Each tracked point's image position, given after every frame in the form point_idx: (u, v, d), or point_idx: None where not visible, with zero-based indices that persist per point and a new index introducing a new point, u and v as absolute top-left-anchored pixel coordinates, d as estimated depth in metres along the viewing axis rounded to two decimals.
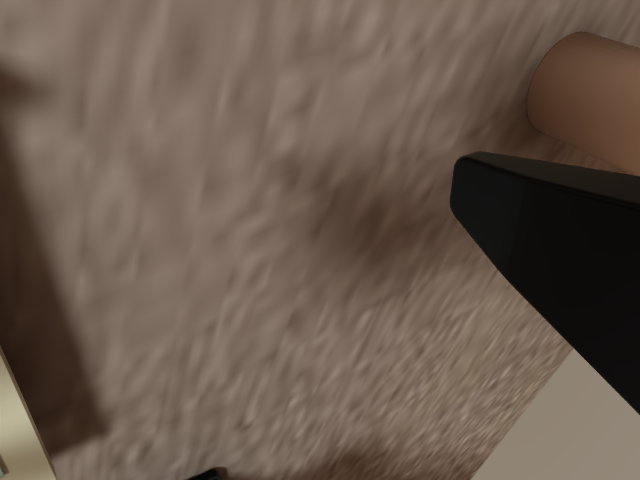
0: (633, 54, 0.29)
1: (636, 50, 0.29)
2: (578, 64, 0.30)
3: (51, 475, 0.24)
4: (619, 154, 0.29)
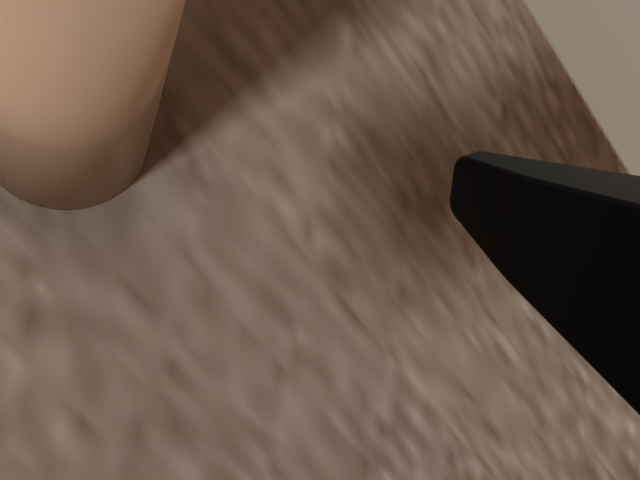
0: None
1: None
2: None
3: None
4: (60, 148, 0.15)
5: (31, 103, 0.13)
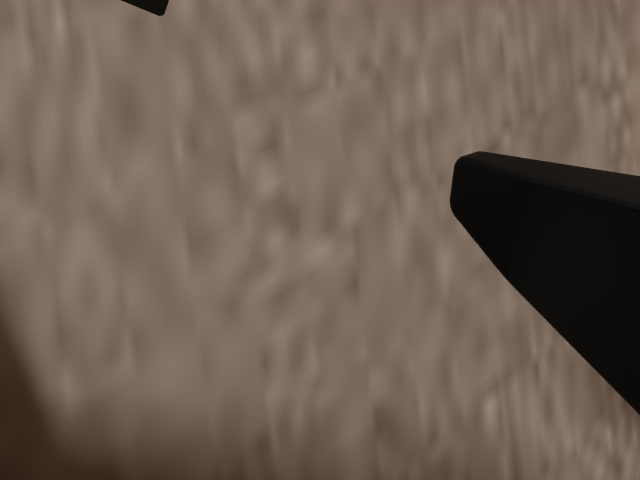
0: None
1: None
2: None
3: None
4: None
5: None
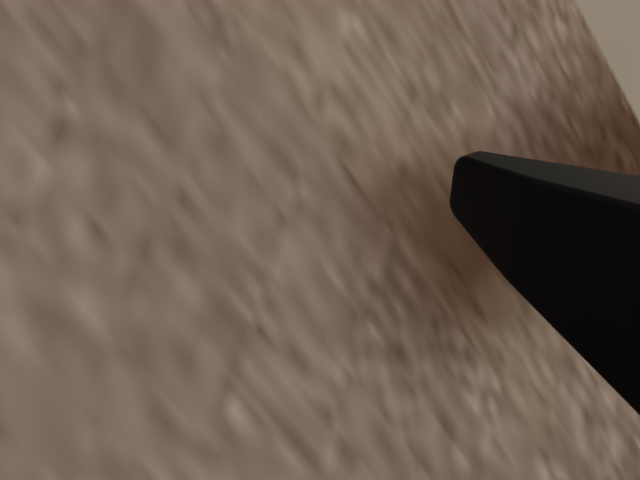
0: None
1: None
2: None
3: None
4: None
5: None
